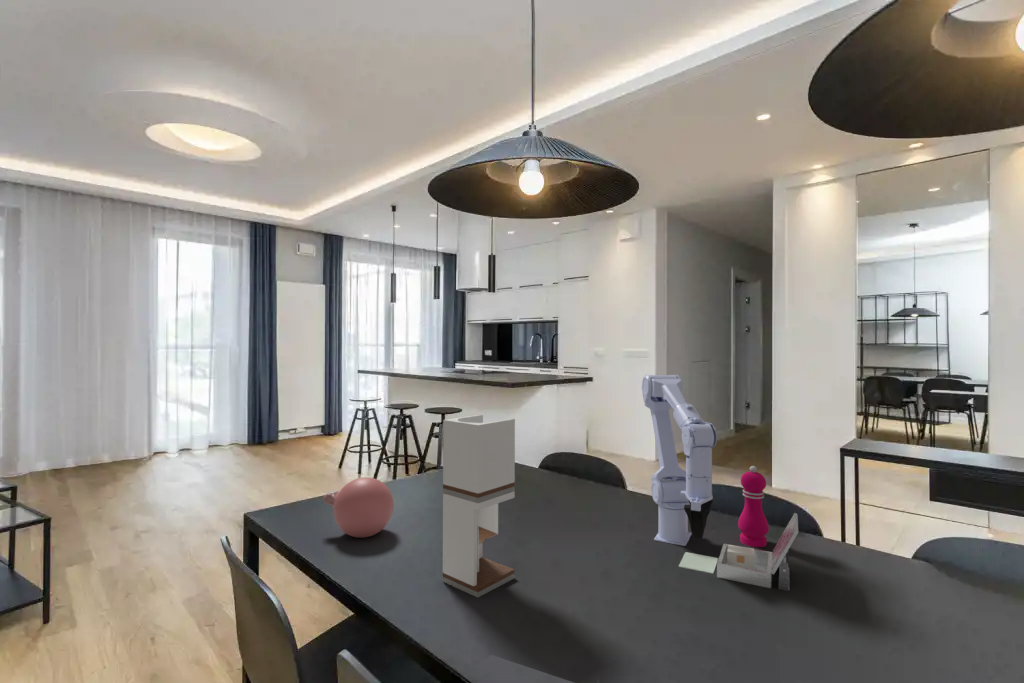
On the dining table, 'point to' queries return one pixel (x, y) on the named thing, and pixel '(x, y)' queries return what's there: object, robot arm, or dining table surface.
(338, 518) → the round balloon
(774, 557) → the lid
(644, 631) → the dining table surface
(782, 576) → the case
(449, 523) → the display case
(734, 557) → the block
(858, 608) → the dining table surface
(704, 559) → the pad
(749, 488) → the pepper mill
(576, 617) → the dining table surface
